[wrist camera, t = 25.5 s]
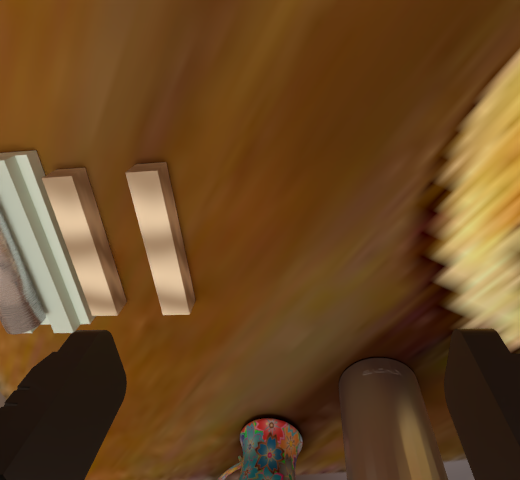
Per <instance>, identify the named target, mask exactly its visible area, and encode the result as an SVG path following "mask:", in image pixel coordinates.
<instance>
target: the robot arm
mask: <svg viewBox="0 0 520 480" xmlns="http://www.w3.org/2000/svg"><path fill="white" fill-rule="evenodd" d="M126 384H127V381H126V374H125V371H124V368H123V365H122V363H121V360H120V357H119V354H118V351H117V348H116V345H115V343H114V340H113V337H112V335H111V333H110V332H109V331H107V330H77V331H75V332H73V333H72V334H71V335H70V336H69V337H68V339H67V340H66V341H65V343H64V344H63V345H62V347H61V348H60V349H59V350H58V352H52V353H51V354H50V355H49V356H47V357H46V358H45V359H43V360H42V361H41V362H40V363H38V364H37V365H36V366H34V367H33V368H32V369H31V370H30V372H29V373H28V374H27V375H26V377H25V378H24V379H23V380H22V382H21V383H20V384H19V385H18V389H17V391H14V392H13V393H12V394H11V395H10V397H9V398H8V399H7V400H6V402H5V405H4V407H1V408H0V480H84V479H85V477H86V475H87V473H88V471H89V469H90V467H91V465H92V463H93V461H94V459H95V457H96V455H97V453H98V451H99V449H100V447H101V445H102V442H103V440H104V438H105V436H106V434H107V432H108V430H109V428H110V426H111V424H112V422H113V420H114V418H115V416H116V414H117V412H118V410H119V408H120V406H121V404H122V402H123V399H124V396H125V393H126ZM444 389H445V397H446V402H447V406H448V409H449V412H450V414H451V417H452V420H453V422H454V425H455V428H456V430H457V433H458V436H459V438H460V441H461V444H462V446H463V449H464V452H465V454H466V457H467V460H468V462H469V465H470V468H471V470H472V473H473V476H474V478H475V480H520V354H511V353H510V352H509V350H508V348H507V347H506V345H505V344H504V342H503V341H502V339H501V337H500V336H499V334H498V333H497V332H496V331H495V330H494V329H455V330H454V331H453V333H452V336H451V342H450V348H449V354H448V360H447V366H446V372H445V379H444ZM339 394H340V405H341V418H342V429H343V440H344V451H345V462H346V473H347V480H448V477H447V474H446V471H445V468H444V464H443V461H442V458H441V455H440V452H439V448H438V445H437V442H436V439H435V436H434V432H433V429H432V426H431V423H430V420H429V417H428V413H427V410H426V407H425V403H424V400H423V397H422V394H421V391H420V388H419V384H418V381H417V378H416V376H415V374H414V372H413V371H412V370H411V369H410V368H409V367H407V366H406V365H405V364H403V363H401V362H398V361H396V360H392V359H388V358H370V359H366V360H362V361H359V362H357V363H355V364H353V365H352V366H350V367H349V368H348V369H347V370H346V371H344V373H343V374H342V376H341V378H340V381H339Z"/></svg>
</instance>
